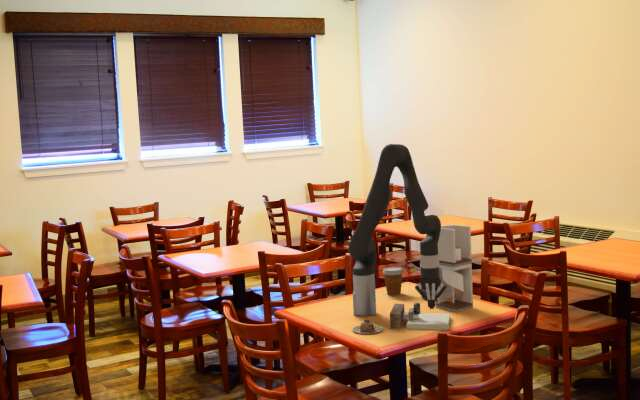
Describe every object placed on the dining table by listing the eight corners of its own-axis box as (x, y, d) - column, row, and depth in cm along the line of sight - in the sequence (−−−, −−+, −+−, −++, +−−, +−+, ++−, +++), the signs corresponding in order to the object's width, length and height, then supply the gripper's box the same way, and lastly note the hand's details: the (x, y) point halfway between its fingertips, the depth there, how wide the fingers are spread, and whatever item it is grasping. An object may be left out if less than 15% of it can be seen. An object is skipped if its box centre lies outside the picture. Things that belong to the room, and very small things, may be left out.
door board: (406, 328, 304) (406, 315, 304) (410, 318, 320) (410, 305, 319) (448, 329, 301) (447, 315, 300) (450, 318, 316) (449, 305, 316)
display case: (436, 307, 334) (433, 227, 330) (453, 303, 340) (450, 224, 336) (455, 312, 325) (453, 229, 321) (473, 307, 331) (470, 226, 327)
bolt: (393, 318, 311) (392, 304, 311) (394, 316, 315) (393, 302, 314) (420, 319, 309) (419, 304, 308) (420, 316, 312) (420, 302, 312)
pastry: (353, 327, 312) (352, 316, 311) (383, 327, 311) (382, 315, 310) (351, 336, 300) (351, 324, 299) (383, 335, 299) (382, 323, 298)
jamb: (390, 328, 306) (389, 313, 305) (395, 317, 321) (394, 303, 320) (401, 328, 305) (400, 314, 304) (405, 318, 320) (404, 303, 320)
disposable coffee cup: (382, 296, 359) (381, 271, 358) (384, 291, 369) (383, 266, 367) (403, 296, 358) (402, 270, 356) (404, 291, 367) (403, 266, 366)
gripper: (412, 267, 305) (414, 310, 307) (446, 267, 302) (448, 310, 304) (414, 264, 312) (416, 306, 314) (447, 263, 309) (449, 306, 311)
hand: (431, 308), depth 309 cm, fingers closed
